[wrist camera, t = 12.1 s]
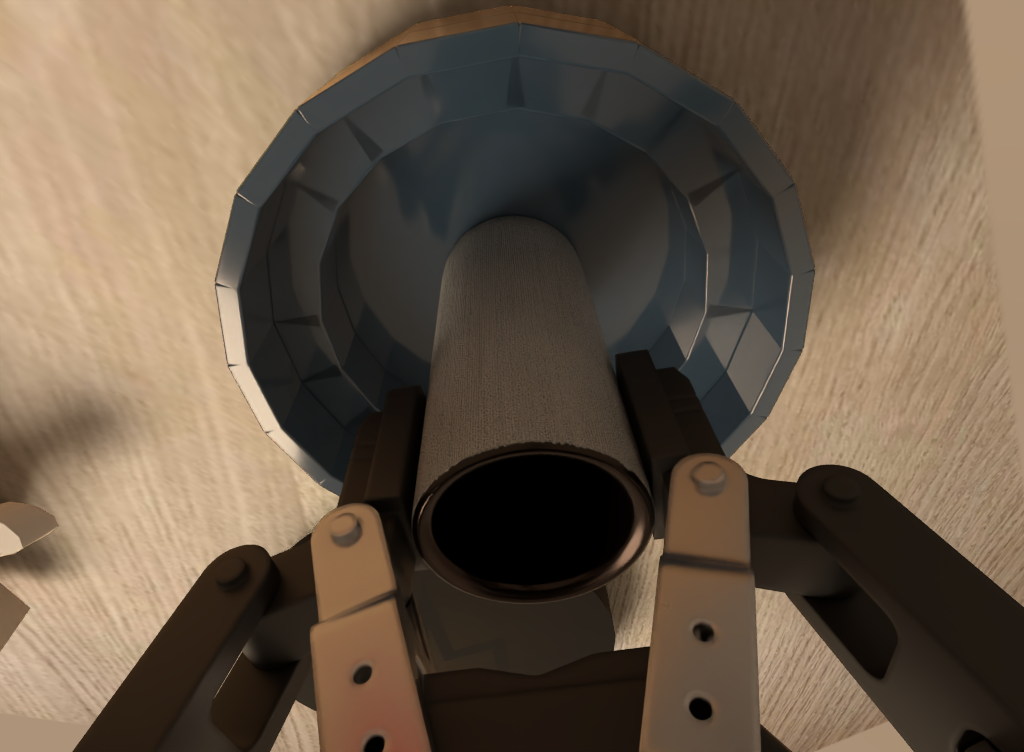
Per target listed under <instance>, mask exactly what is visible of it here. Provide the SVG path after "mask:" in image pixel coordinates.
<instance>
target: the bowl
mask: <svg viewBox="0 0 1024 752" xmlns="http://www.w3.org/2000/svg"><path fill="white" fill-rule="evenodd" d="M504 216H524V217H530V218H534V219H537V220H540V221H543V222H545V223H547V224H549V225H551V226H552V227H554V228H555V229H557V230H558V231H559V232H561V233H562V234H563V235H564V236H565V237H566V238H567V239H568V241H569V242H570V243H571V245H572V246H573V248H574V250H575V252H576V254H577V256H578V258H579V260H580V263H581V265H582V268H583V271H584V274H585V278H586V281H587V284H588V288H589V291H590V294H591V297H592V301H593V304H594V307H595V310H596V314H597V317H598V320H599V323H600V327H601V330H602V333H603V336H604V340H605V343H606V346H607V349H608V353H609V356H610V359H611V362H612V366H613V369H614V372H615V375H616V364H615V355H616V354H619V353H625V352H632V351H638V350H644V349H647V350H648V351H649V354H650V356H651V359H652V361H653V363H654V366H655V368H656V369H662V368H668V367H674V368H676V369H677V370H678V371H680V372H681V373H682V374H683V375H685V376H686V377H687V378H689V380H690V382H691V384H692V386H693V388H694V390H695V393H696V397H698V399H699V401H700V403H701V405H702V409H704V412H705V414H706V416H707V418H708V420H709V422H710V424H711V426H712V428H713V430H714V433H715V435H716V437H717V439H718V441H719V443H720V445H721V447H722V449H723V451H724V454H725V455H726V457H728V458H730V457H731V456H732V455H733V454H734V453H735V452H736V451H737V449H738V448H739V447H740V446H741V445H742V444H743V443H744V442H745V441H746V440H747V439H748V438H749V437H750V436H751V435H752V434H753V433H754V432H755V431H756V430H757V429H758V428H759V426H760V425H761V424H762V423H763V422H764V421H765V420H766V419H767V417H768V416H769V415H770V413H771V411H772V409H773V407H774V405H775V403H776V401H777V399H778V397H779V395H780V393H781V391H782V390H783V388H784V386H785V384H786V382H787V380H788V378H789V376H790V374H791V372H792V370H793V368H794V366H795V365H796V363H797V361H798V359H799V357H800V355H801V353H802V349H803V348H804V342H805V335H806V329H807V322H808V315H809V309H810V302H811V295H812V289H813V282H814V275H815V269H814V268H815V265H814V261H813V256H812V252H811V248H810V243H809V239H808V235H807V230H806V226H805V222H804V217H803V213H802V209H801V204H800V200H799V196H798V191H797V187H796V184H795V183H794V179H793V178H792V176H791V175H790V174H789V172H788V171H787V170H786V168H785V167H784V165H783V164H782V163H781V161H780V160H779V159H778V157H777V156H776V154H775V153H774V152H773V150H772V149H771V147H770V146H769V145H768V143H767V142H766V141H765V139H764V138H763V136H762V135H761V134H760V132H759V131H758V130H757V128H756V127H755V125H754V124H753V123H752V121H751V120H750V119H749V117H748V116H747V114H746V113H745V112H744V110H743V109H742V107H741V106H740V105H739V103H737V102H735V100H734V99H733V98H731V97H730V96H728V95H726V94H725V93H723V92H721V91H720V90H718V89H717V88H715V87H713V86H712V85H710V84H708V83H707V82H705V81H703V80H702V79H700V78H699V77H697V76H695V75H694V74H692V73H690V72H689V71H687V70H685V69H684V68H682V67H680V66H679V65H677V64H676V63H674V62H672V61H671V60H669V59H667V58H666V57H664V56H662V55H661V54H659V53H658V52H656V51H654V50H653V49H651V48H649V47H648V46H646V45H644V44H643V43H641V42H639V41H638V40H636V39H634V38H633V37H631V36H629V35H627V34H626V33H624V32H622V31H621V30H619V29H617V28H616V27H614V26H612V25H611V24H609V23H605V22H603V21H601V20H596V19H591V18H585V17H579V16H574V15H568V14H562V13H556V12H551V11H545V10H539V9H534V8H528V7H522V6H517V5H513V6H510V5H505V6H500V7H495V8H490V9H485V10H480V11H475V12H470V13H465V14H460V15H455V16H450V17H445V18H440V19H435V20H429V21H424V22H419V23H417V24H415V25H413V26H411V27H410V28H408V29H406V30H405V31H403V32H402V33H400V34H399V35H397V36H395V37H394V38H392V39H391V40H389V41H388V42H386V43H384V44H383V45H381V46H380V47H378V48H377V49H375V50H373V51H372V52H370V53H369V54H367V55H365V56H364V57H362V58H361V59H359V60H358V61H356V62H354V63H353V64H351V65H350V66H348V67H347V68H345V69H343V70H342V71H340V72H339V73H338V74H337V75H336V76H334V77H333V78H332V79H331V80H330V81H328V82H327V83H326V84H325V85H324V86H322V87H321V88H320V89H319V90H317V91H316V92H315V93H314V94H313V95H311V96H310V97H309V98H308V99H307V100H305V101H304V102H303V103H302V104H301V105H299V106H298V108H297V109H295V110H294V112H293V113H292V114H291V116H290V117H289V119H288V120H287V121H286V123H285V124H284V125H283V127H282V128H281V130H280V131H279V132H278V134H277V135H276V137H275V138H274V139H273V141H272V142H271V143H270V145H269V146H268V148H267V149H266V150H265V152H264V153H263V155H262V156H261V157H260V159H259V160H258V162H257V163H256V164H255V166H254V167H253V168H252V170H251V171H250V173H249V174H248V175H247V177H246V178H245V180H244V181H243V182H242V184H241V185H240V186H239V188H238V189H237V193H236V194H235V196H234V200H233V204H232V209H231V213H230V217H229V221H228V226H227V230H226V234H225V239H224V243H223V247H222V251H221V256H220V260H219V264H218V269H217V273H216V277H215V282H216V283H215V289H216V296H217V302H218V309H219V315H220V321H221V328H222V334H223V341H224V347H225V353H226V360H227V364H228V368H229V369H230V371H231V373H232V375H233V377H234V378H235V380H236V382H237V384H238V386H239V388H240V389H241V391H242V393H243V395H244V397H245V398H246V400H247V402H248V404H249V406H250V408H251V409H252V411H253V413H254V415H255V417H256V418H257V420H258V422H259V424H260V426H261V428H262V429H263V431H264V432H265V433H266V435H267V436H268V437H270V438H271V439H272V440H273V441H274V442H275V443H276V444H277V445H278V446H279V447H280V448H281V449H282V450H283V451H284V452H285V453H286V454H287V455H288V456H289V457H290V458H291V459H292V460H293V461H294V462H295V463H296V464H298V465H299V466H300V467H301V468H302V469H303V470H304V471H305V472H306V473H307V474H308V475H309V476H310V477H311V478H312V479H313V480H314V481H315V482H316V483H318V484H319V485H320V486H322V487H324V488H325V489H327V490H329V491H331V492H333V493H334V494H336V495H338V496H340V494H341V491H342V487H343V483H344V479H345V475H346V472H347V468H348V464H349V462H350V461H351V460H350V457H351V453H352V449H353V448H354V441H355V438H356V434H357V430H358V428H359V427H360V425H361V424H362V423H363V422H364V420H365V419H366V418H367V416H368V415H369V414H370V413H373V412H380V411H383V409H384V405H385V400H386V396H387V392H388V390H389V389H392V388H399V387H405V386H412V385H418V384H419V385H421V387H422V389H423V392H424V395H425V398H426V401H427V393H428V385H429V377H430V369H431V362H432V354H433V346H434V338H435V330H436V323H437V315H438V307H439V299H440V291H441V284H442V277H443V273H444V269H445V265H446V261H447V259H448V256H449V254H450V252H451V250H452V249H453V247H454V245H455V244H456V243H457V242H458V240H459V239H460V238H461V237H462V236H463V235H464V234H465V233H467V232H468V231H469V230H470V229H472V228H473V227H475V226H477V225H479V224H481V223H483V222H485V221H488V220H490V219H494V218H498V217H504ZM616 379H617V377H616Z"/></svg>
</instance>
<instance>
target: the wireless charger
mask: <svg viewBox="0 0 1024 752" xmlns="http://www.w3.org/2000/svg"><path fill="white" fill-rule="evenodd" d="M311 536H312V533H311V534H310V535H308V536H306V537H305V538H303V539H302V540H301V541H300V542H298V543H297V544H296V545H294V546H293V547H292V548H294V547H296V546H299V545H301V544H303V543H305V542H307V541H309V540H311ZM412 590H413V592H414V595H415V597H416V601H417V604H418V608H419V612H420V615H421V619H422V623H423V626H424V630H425V634H426V638H427V641H428V645H429V649H430V652H431V656H432V660H433V663H434V667H435V670H436V673H439V672H447V671H455V670H463V669H471V668H484V669H491V670H498V671H505V672H511V673H518V674H525V675H534V676H535V675H541V674H544V673H546V672H549V671H551V670H554V669H556V668H559V667H561V666H564V665H566V664H569V663H571V662H574V661H576V660H579V659H581V658H584V657H586V656H589V655H591V654H594V653H601V652H609V651H614V645H615V632H614V626H613V621H612V615H611V610H610V605H609V600H608V594H607V589H606V586H605V585H604V586H602V587H600V588H598V589H596V590H593V591H591V592H588V593H586V594H583V595H580V596H576V597H573V598H569V599H565V600H560V601H555V602H548V603H536V604H515V603H504V602H497V601H492V600H488V599H483V598H480V597H477V596H474V595H471V594H468V593H466V592H463V591H461V590H459V589H457V588H455V587H453V586H451V585H450V584H448V583H446V582H445V581H444V580H442V579H441V578H440V577H438V576H437V575H436V574H435V573H434V572H433V571H432V570H431V569H428V570H421V571H414V579H413V588H412ZM296 700H297V701H298V702H300V703H301V704H303V705H305V706H307V707H309V708H311V709H313V710H315V711H317V710H316V699H315V688H314V677H313V666H312V667H311V669H310V672H309V674H308V676H307V678H306V680H305V682H304V684H303V686H302V688H301V690H300V692H299V694H298V696H297V698H296Z"/></svg>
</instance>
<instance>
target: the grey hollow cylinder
mask: <svg viewBox="0 0 1024 752" xmlns="http://www.w3.org/2000/svg"><path fill="white" fill-rule="evenodd" d="M654 525H655V505H654V501H653V497H652V493H651V490H650V486H649V483H648V480H647V477H646V473H645V470H644V467H643V463H642V460H641V457H640V454H639V450H638V447H637V444H636V441H635V437H634V434H633V431H632V428H631V424H630V421H629V418H628V415H627V411H626V408H625V405H624V402H623V398H622V395H621V392H620V389H619V385H618V382H617V379H616V375H615V372H614V369H613V366H612V362H611V359H610V356H609V353H608V349H607V346H606V343H605V340H604V336H603V333H602V330H601V327H600V323H599V320H598V317H597V314H596V310H595V307H594V304H593V301H592V297H591V294H590V291H589V288H588V284H587V281H586V278H585V274H584V271H583V268H582V265H581V263H580V260H579V258H578V256H577V254H576V252H575V250H574V248H573V246H572V245H571V243H570V242H569V241H568V239H567V238H566V237H565V236H564V235H563V234H562V233H561V232H559V231H558V230H557V229H555V228H554V227H552V226H551V225H549V224H547V223H545V222H543V221H540V220H537V219H534V218H530V217H524V216H504V217H498V218H494V219H490V220H488V221H485V222H483V223H481V224H479V225H477V226H475V227H473V228H472V229H470V230H469V231H468V232H467V233H465V234H464V235H463V236H462V237H461V238H460V239H459V240H458V242H457V243H456V244H455V245H454V247H453V249H452V250H451V252H450V254H449V256H448V259H447V261H446V265H445V269H444V273H443V277H442V284H441V291H440V299H439V307H438V315H437V323H436V330H435V338H434V346H433V354H432V362H431V369H430V377H429V385H428V393H427V401H426V408H425V416H424V424H423V432H422V440H421V447H420V455H419V463H418V471H417V479H416V486H415V494H414V502H413V510H412V522H411V529H412V536H413V541H414V544H415V547H416V549H417V551H418V553H419V555H420V556H421V558H422V560H423V561H424V562H425V564H426V565H427V566H428V567H429V568H430V569H431V570H432V571H433V572H434V573H435V574H436V575H437V576H438V577H440V578H441V579H442V580H444V581H445V582H446V583H448V584H450V585H451V586H453V587H455V588H457V589H459V590H461V591H463V592H466V593H468V594H471V595H474V596H477V597H480V598H483V599H488V600H492V601H497V602H504V603H515V604H536V603H548V602H555V601H560V600H565V599H569V598H573V597H576V596H580V595H583V594H586V593H588V592H591V591H593V590H596V589H598V588H600V587H602V586H604V585H606V584H607V583H609V582H611V581H612V580H614V579H616V578H617V577H619V576H620V575H621V574H623V573H624V572H625V571H626V570H628V569H629V568H630V567H631V566H632V565H633V564H634V563H635V562H636V561H637V559H638V558H639V557H640V556H641V554H642V553H643V551H644V550H645V548H646V547H647V545H648V543H649V541H650V538H651V536H652V533H653V530H654Z"/></svg>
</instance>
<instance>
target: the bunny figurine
mask: <svg viewBox="0 0 1024 752" xmlns="http://www.w3.org/2000/svg"><path fill="white" fill-rule="evenodd" d="M58 526H59V525H58V523H57V521H56V519H55V517H54V516H53V515H51V514H49V513H48V512H46V511H44V510H42V509H41V508H39V507H36V506H32V505H28V504H24V503H17V502H5V503H1V504H0V557H2V556H6V555H10V554H14V553H16V552H18V551H19V550H21V549H23V548H25V547H27V546H28V545H30V544H32V543H34V542H35V541H37V540H39V539H41V538H42V537H44V536H46V535H48V534H50V533H51V532H52V531H53V530H54V529H56V528H57V527H58ZM29 609H30V607H28V606H27V605H26V604H25V603H24V602H23V601H21V600H20V599H19V598H18V597H17V596H15V595H14V594H13V593H12V592H11V591H9V590H8V589H7V588H6V587H5V586H3V585H2V584H1V583H0V651H1V650H2V648H3V647H4V646H5V644H6V643H7V641H8V640H9V638H10V637H11V635H12V634H13V632H14V631H15V630H16V628H17V627H18V625H19V624H20V622H21V621H22V619H23V618H24V617H25V615H26V614H27V612H28V611H29Z"/></svg>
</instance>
